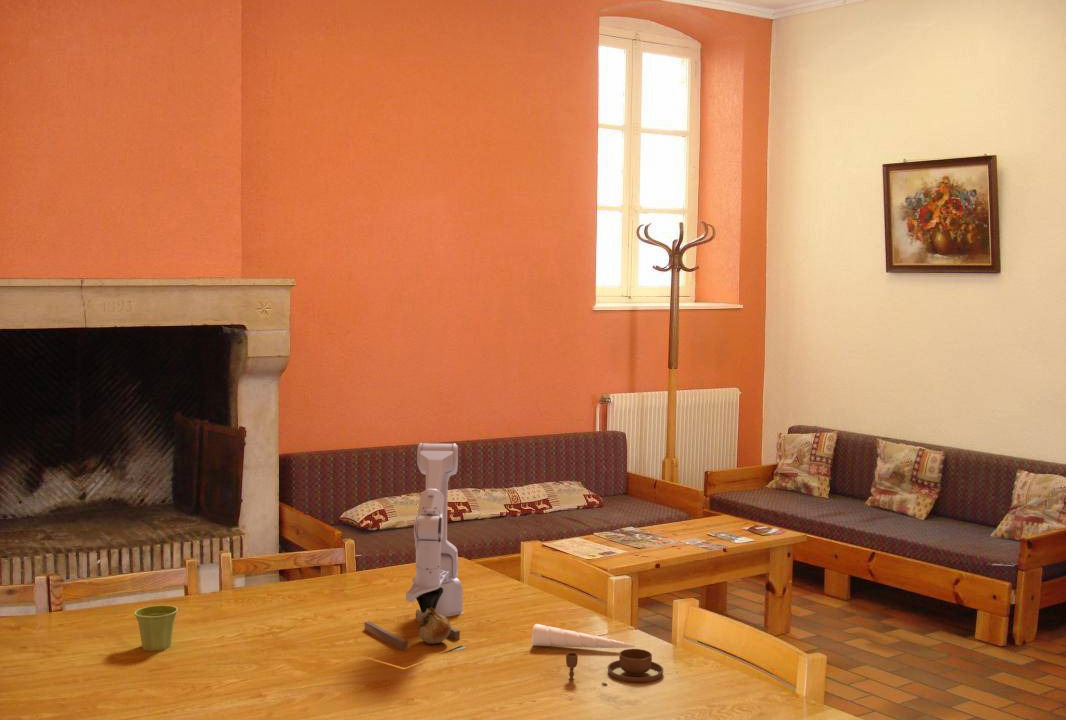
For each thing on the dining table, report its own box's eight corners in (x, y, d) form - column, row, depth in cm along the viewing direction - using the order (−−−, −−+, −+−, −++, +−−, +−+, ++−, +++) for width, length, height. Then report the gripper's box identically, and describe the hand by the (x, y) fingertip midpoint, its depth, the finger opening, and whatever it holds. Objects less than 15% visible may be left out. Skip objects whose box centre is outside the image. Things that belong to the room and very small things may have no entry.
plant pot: (125, 650, 247) (125, 612, 246) (157, 639, 255) (157, 602, 255) (155, 657, 243) (155, 618, 242) (187, 645, 251) (186, 608, 250)
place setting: (658, 693, 226) (658, 665, 225) (563, 684, 230) (563, 656, 230) (667, 665, 243) (667, 639, 242) (578, 657, 247) (578, 632, 247)
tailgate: (409, 650, 248) (421, 657, 244) (454, 641, 255) (466, 648, 251) (409, 652, 248) (420, 659, 244) (455, 642, 255) (466, 649, 251)
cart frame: (419, 621, 271) (419, 611, 271) (459, 641, 256) (459, 630, 256) (364, 632, 262) (364, 622, 262) (402, 653, 247) (402, 642, 247)
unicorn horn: (633, 662, 250) (629, 668, 245) (533, 641, 256) (528, 646, 251) (636, 641, 249) (632, 647, 245) (536, 621, 255) (530, 626, 251)
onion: (423, 652, 249) (428, 621, 247) (410, 633, 255) (415, 603, 253) (453, 648, 253) (458, 617, 250) (439, 630, 259) (444, 600, 257)
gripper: (431, 549, 261) (430, 602, 264) (395, 571, 249) (394, 625, 252) (456, 557, 258) (455, 609, 261) (420, 579, 245) (419, 634, 249)
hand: (427, 618), depth 256 cm, fingers closed, pressing on onion
